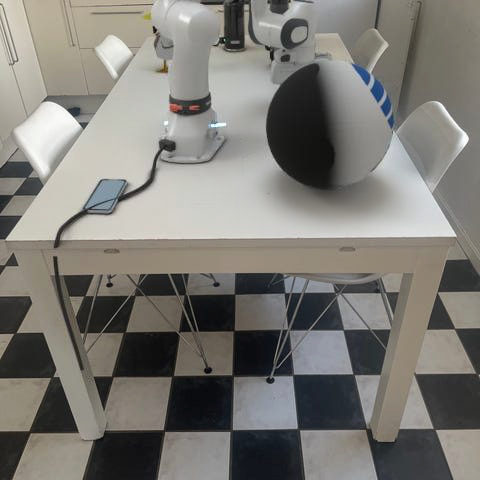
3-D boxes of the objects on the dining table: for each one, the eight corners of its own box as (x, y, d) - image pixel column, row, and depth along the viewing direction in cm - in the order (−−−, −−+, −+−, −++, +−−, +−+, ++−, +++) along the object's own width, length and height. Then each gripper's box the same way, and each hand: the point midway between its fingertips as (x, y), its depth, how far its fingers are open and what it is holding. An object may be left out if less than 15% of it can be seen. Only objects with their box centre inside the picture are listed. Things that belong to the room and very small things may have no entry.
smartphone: (80, 210, 121) (100, 178, 133) (81, 213, 122) (101, 181, 134) (110, 211, 121) (128, 179, 133) (111, 214, 121) (128, 182, 133)
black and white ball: (400, 209, 120) (424, 81, 103) (272, 216, 119) (274, 88, 101) (366, 153, 144) (380, 42, 127) (260, 158, 143) (260, 47, 126)
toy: (155, 65, 218) (148, 2, 203) (198, 69, 211) (194, 5, 197) (145, 70, 212) (137, 6, 198) (190, 75, 205) (185, 9, 191)
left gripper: (330, 49, 170) (326, 90, 178) (269, 52, 169) (268, 93, 177) (335, 54, 165) (331, 96, 173) (272, 57, 164) (271, 99, 172)
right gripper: (295, 12, 202) (293, 57, 212) (259, 14, 201) (259, 58, 211) (299, 16, 196) (297, 62, 206) (262, 18, 195) (262, 64, 205)
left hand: (299, 95), depth 175 cm, fingers closed on post, 4 cm apart
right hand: (278, 60), depth 209 cm, fingers closed on post, 4 cm apart
